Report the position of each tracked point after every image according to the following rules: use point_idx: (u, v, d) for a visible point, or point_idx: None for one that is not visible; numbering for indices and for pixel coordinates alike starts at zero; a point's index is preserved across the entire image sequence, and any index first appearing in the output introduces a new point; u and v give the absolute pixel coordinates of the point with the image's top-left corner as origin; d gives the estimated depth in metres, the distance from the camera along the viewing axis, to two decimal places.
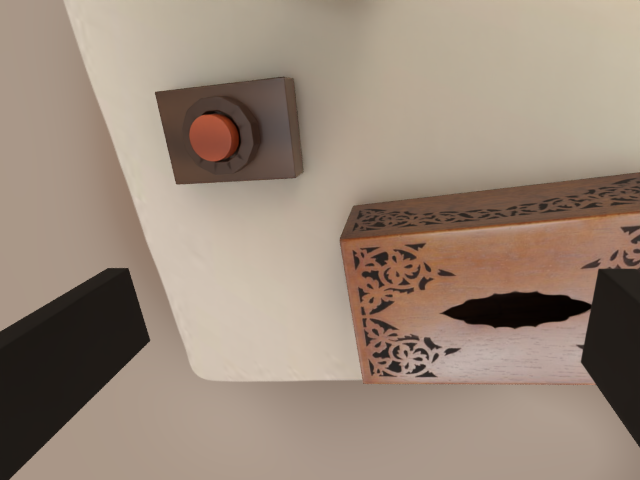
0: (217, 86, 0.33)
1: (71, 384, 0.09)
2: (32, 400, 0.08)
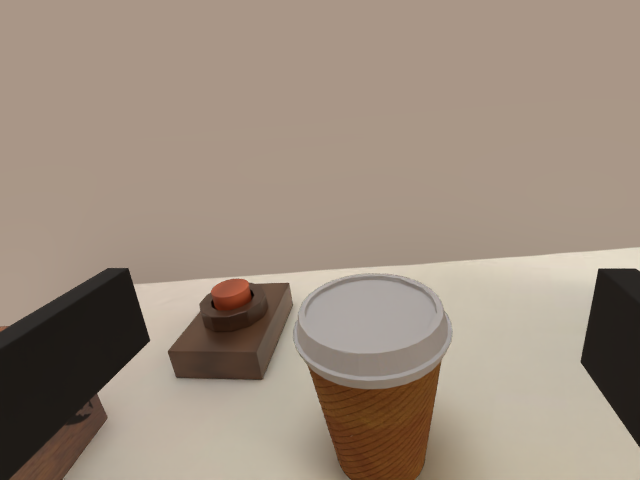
0: (273, 312, 0.39)
1: (71, 384, 0.09)
2: (33, 400, 0.08)
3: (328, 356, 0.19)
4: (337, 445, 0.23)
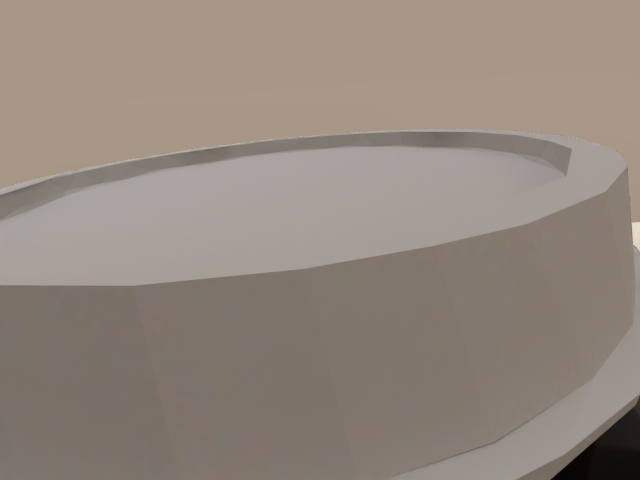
0: None
1: None
2: None
3: None
4: None
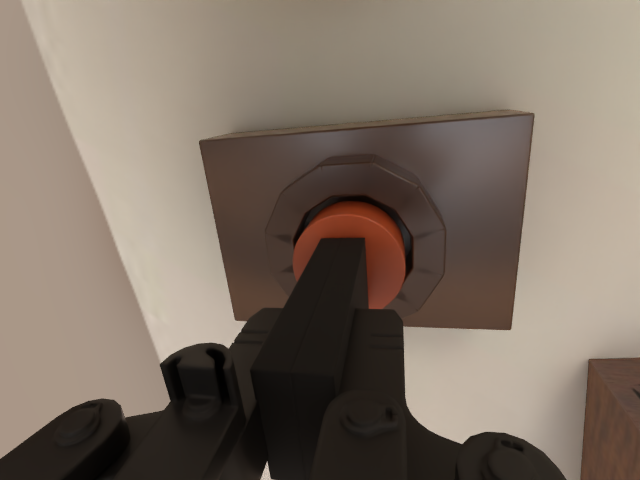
0: (351, 132, 0.14)
1: None
2: None
3: None
4: None
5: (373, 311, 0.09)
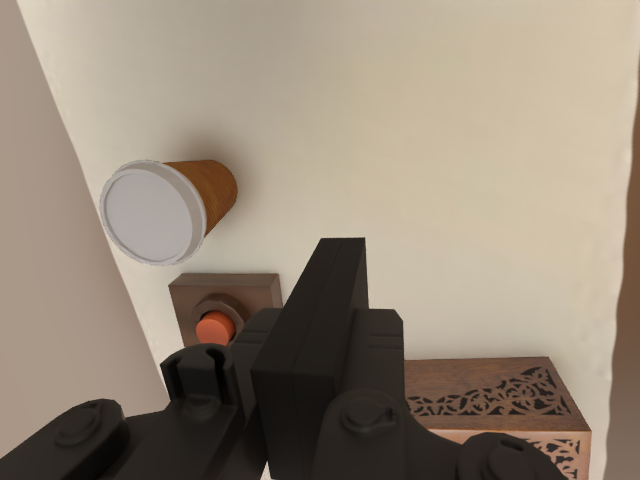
0: (217, 286, 0.42)
1: None
2: None
3: (195, 238, 0.31)
4: (223, 216, 0.39)
5: (373, 311, 0.09)
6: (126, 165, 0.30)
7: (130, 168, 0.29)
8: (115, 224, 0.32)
